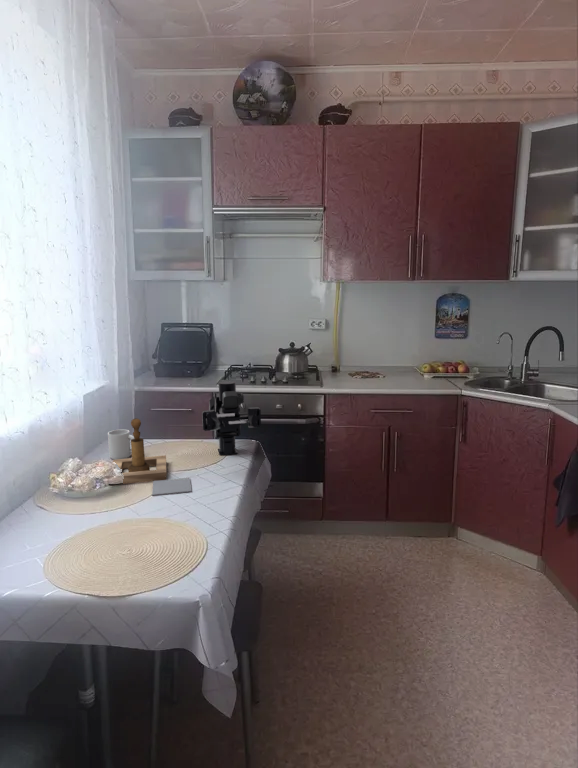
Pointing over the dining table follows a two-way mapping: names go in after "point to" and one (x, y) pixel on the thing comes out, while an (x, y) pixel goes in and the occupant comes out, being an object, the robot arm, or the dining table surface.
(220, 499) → the dining table surface
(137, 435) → the wooden pepper mill
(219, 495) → the dining table surface
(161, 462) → the walnut holder
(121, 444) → the cup
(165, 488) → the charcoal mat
